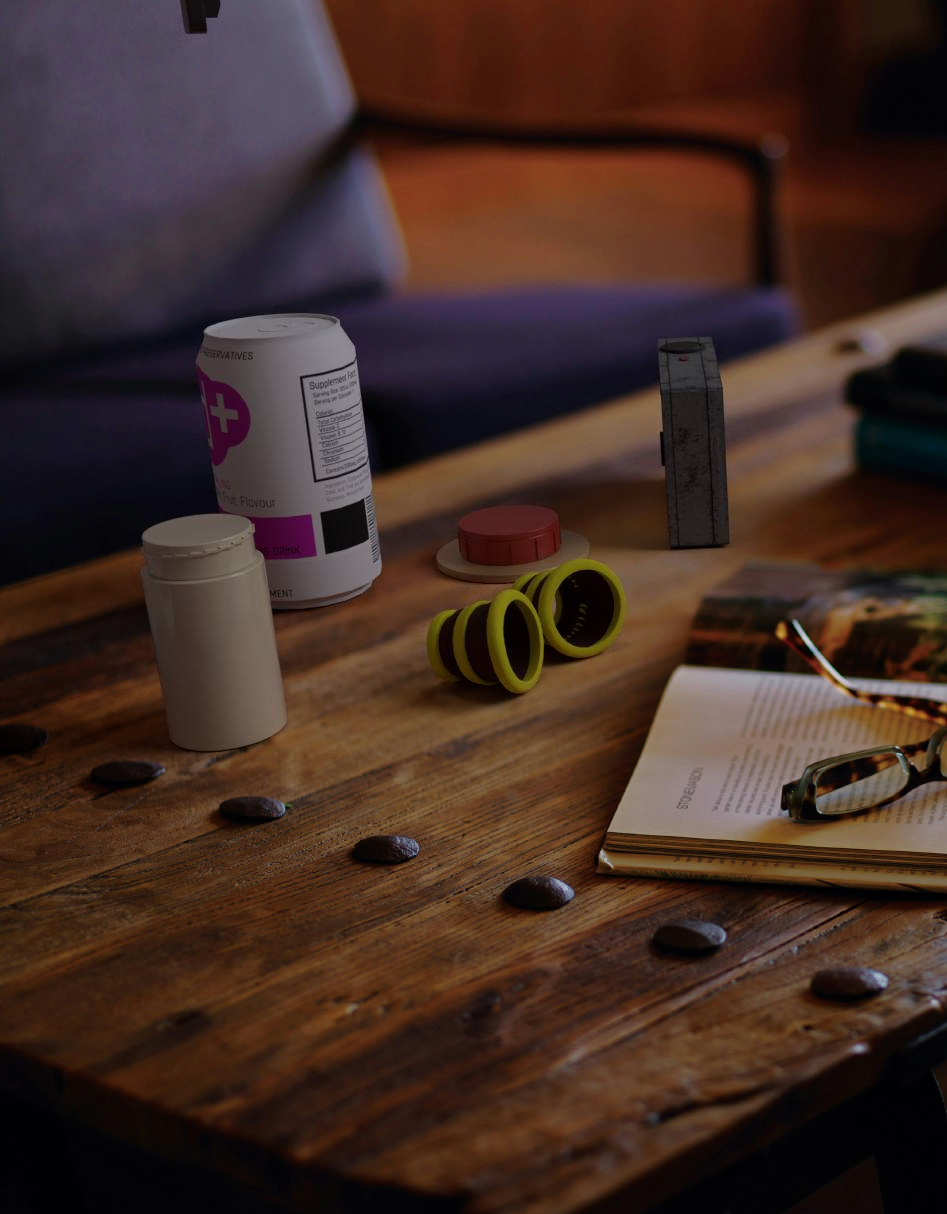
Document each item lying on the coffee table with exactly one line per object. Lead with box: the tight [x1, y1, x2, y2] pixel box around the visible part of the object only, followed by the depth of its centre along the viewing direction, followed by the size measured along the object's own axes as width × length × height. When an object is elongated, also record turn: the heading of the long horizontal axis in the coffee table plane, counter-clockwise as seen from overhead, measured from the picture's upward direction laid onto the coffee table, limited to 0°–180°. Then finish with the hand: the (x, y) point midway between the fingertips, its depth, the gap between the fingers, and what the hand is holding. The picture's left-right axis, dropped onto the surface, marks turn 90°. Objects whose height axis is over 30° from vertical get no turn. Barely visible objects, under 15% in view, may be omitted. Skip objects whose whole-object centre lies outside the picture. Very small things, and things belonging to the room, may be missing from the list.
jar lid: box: [457, 504, 562, 566], centre depth 96 cm, size 6×6×2 cm
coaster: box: [435, 528, 591, 584], centre depth 97 cm, size 9×9×1 cm
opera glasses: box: [426, 558, 627, 694], centre depth 80 cm, size 10×5×5 cm, turn 148°
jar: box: [140, 513, 289, 752], centre depth 73 cm, size 5×5×10 cm
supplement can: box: [195, 312, 383, 610], centre depth 90 cm, size 8×8×15 cm
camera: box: [656, 336, 731, 548], centre depth 103 cm, size 16×4×10 cm, turn 6°
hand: (85, 36), depth 66 cm, fingers open, 8 cm apart
